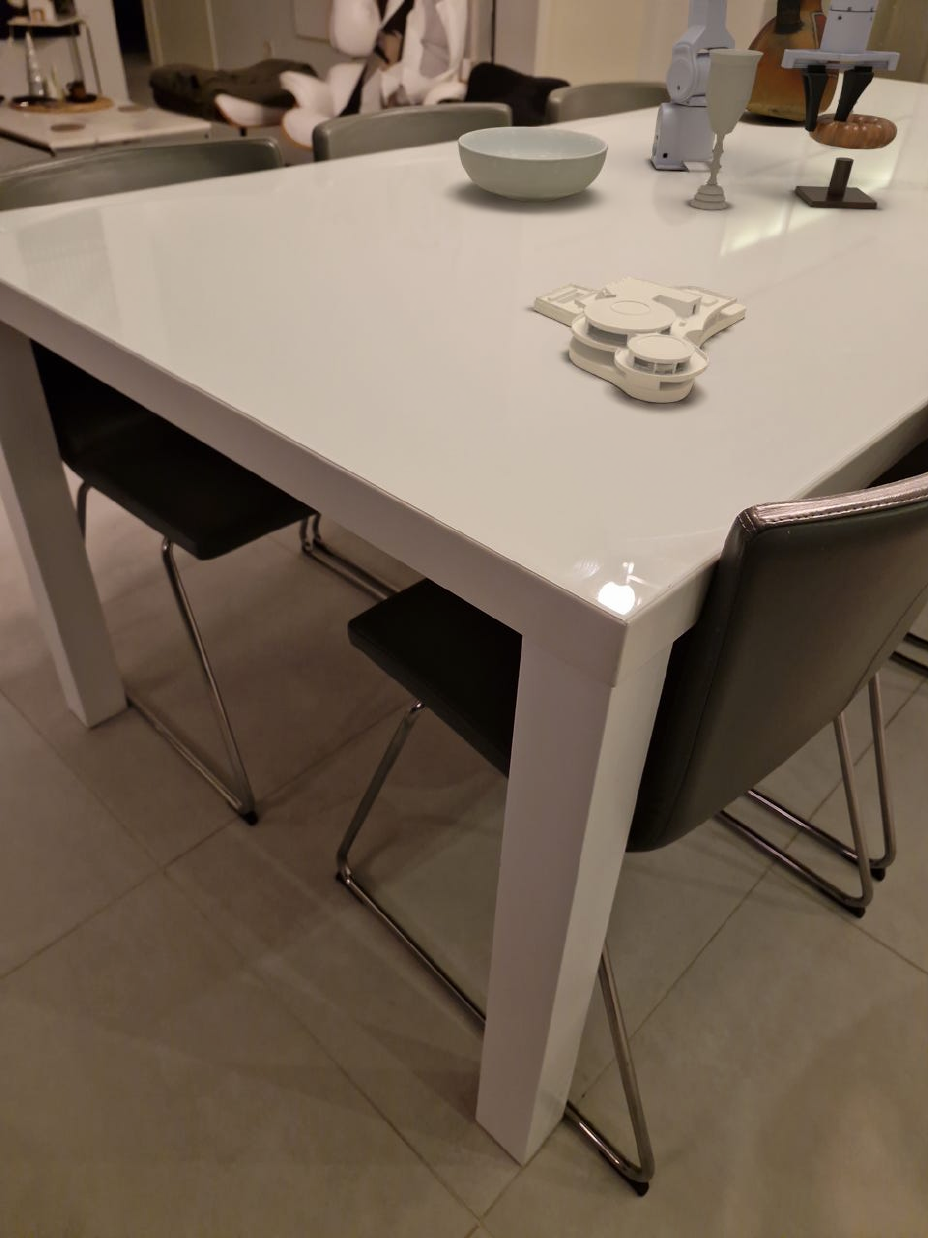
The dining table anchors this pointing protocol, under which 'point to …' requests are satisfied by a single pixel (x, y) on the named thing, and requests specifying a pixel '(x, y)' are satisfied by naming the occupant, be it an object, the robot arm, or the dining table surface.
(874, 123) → the ring
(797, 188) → the post
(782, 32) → the ceramic pitcher
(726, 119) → the chalice
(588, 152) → the serving bowl
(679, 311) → the white architectural building model
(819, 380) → the dining table surface
